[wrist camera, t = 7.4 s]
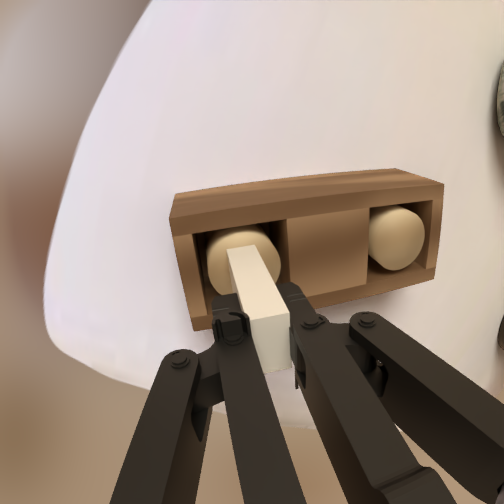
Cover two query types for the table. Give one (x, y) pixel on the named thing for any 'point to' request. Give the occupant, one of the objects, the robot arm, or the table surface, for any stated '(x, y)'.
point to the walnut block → (308, 233)
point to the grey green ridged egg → (501, 101)
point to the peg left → (232, 239)
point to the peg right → (394, 236)
